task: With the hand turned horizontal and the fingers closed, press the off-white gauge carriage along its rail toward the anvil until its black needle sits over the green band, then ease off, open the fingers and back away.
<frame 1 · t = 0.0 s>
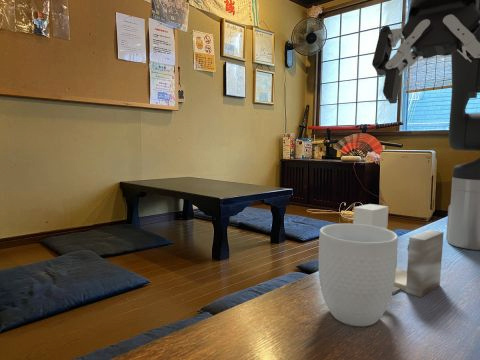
hand: (428, 98, 41), 31 cm above the table, tool tilted 20°, fingers open, 8 cm apart
mug: (358, 314, 53), on the table
gauge carriage: (365, 237, 68), point 7 cm above the table, slide at 0.0 cm
gauge base: (394, 279, 66), on the table
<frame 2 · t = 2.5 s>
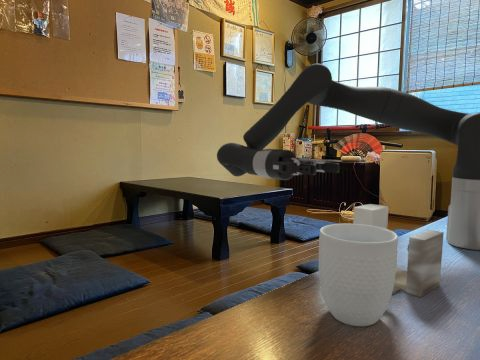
hand: (327, 169, 76), 20 cm above the table, tool horizontal, fingers open, 8 cm apart
nothing on the table moved.
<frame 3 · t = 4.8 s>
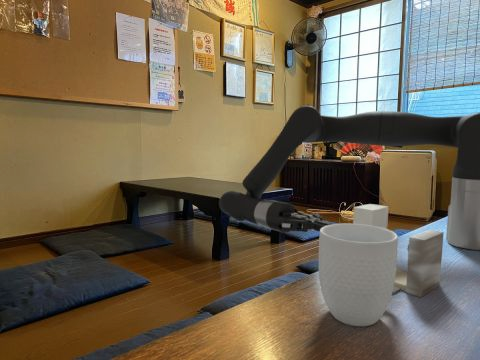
hand: (330, 228, 77), 7 cm above the table, tool horizontal, fingers closed
nothing on the table moved.
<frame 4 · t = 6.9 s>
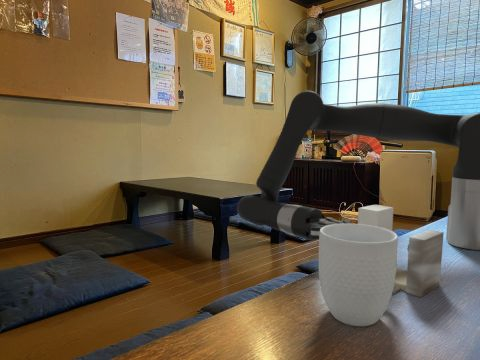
hand: (365, 236, 70), 7 cm above the table, tool horizontal, fingers closed
gauge carriage: (369, 238, 67), point 7 cm above the table, slide at 1.0 cm, touching gripper
everything else where it was.
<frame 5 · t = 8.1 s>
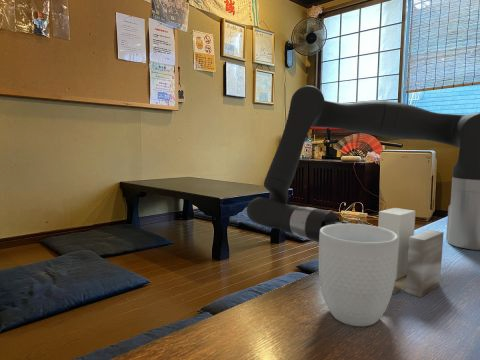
hand: (385, 241, 67), 7 cm above the table, tool horizontal, fingers closed
gauge carriage: (391, 244, 64), point 7 cm above the table, slide at 5.3 cm, touching gripper
everything else where it was.
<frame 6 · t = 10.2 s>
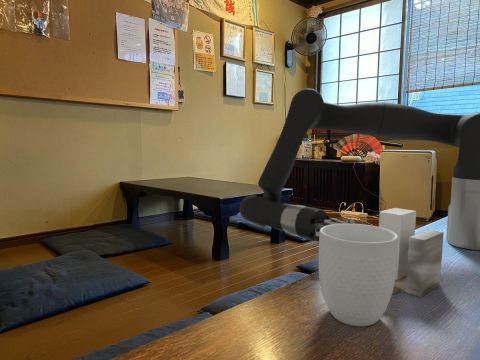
hand: (371, 238, 69), 7 cm above the table, tool horizontal, fingers closed
gauge carriage: (391, 244, 64), point 7 cm above the table, slide at 5.4 cm
everything else where it was.
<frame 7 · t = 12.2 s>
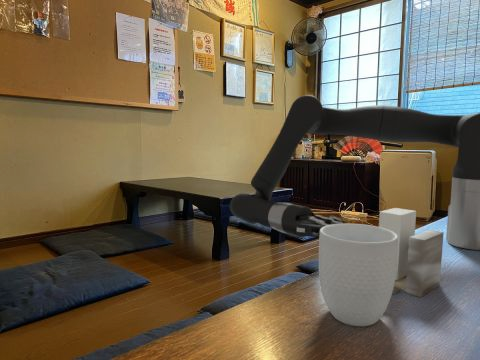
hand: (351, 233, 72), 7 cm above the table, tool horizontal, fingers closed
nothing on the table moved.
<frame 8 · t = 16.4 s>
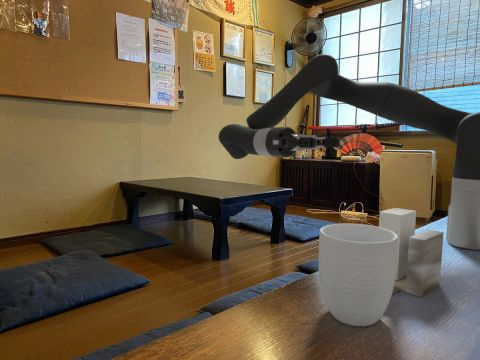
hand: (327, 142, 76), 26 cm above the table, tool horizontal, fingers open, 8 cm apart
nothing on the table moved.
at the end: gauge carriage slide at 5.4 cm; the gripper is holding nothing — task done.
